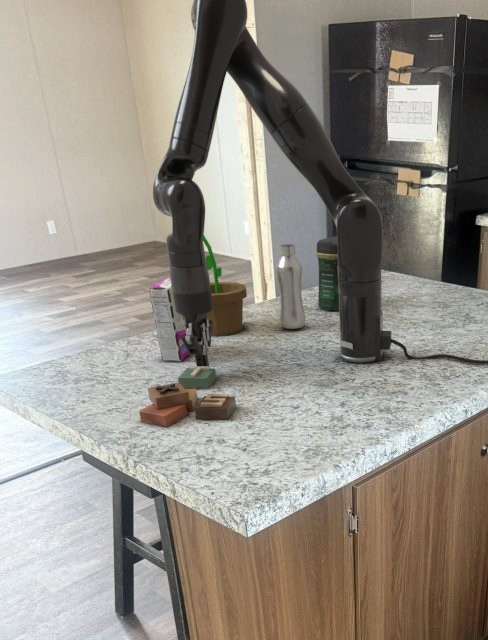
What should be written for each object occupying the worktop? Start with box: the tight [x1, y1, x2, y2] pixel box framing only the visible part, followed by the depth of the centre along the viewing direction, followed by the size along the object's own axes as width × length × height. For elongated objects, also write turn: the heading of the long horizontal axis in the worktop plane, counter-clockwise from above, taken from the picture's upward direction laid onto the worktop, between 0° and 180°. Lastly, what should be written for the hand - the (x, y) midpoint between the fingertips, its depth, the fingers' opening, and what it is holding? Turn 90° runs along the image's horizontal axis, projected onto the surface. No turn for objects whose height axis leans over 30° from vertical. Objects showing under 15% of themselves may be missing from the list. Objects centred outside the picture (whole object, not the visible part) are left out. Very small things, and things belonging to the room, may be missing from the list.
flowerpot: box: [203, 233, 248, 337], centre depth 171 cm, size 14×14×30 cm
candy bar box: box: [148, 276, 191, 363], centre depth 158 cm, size 11×5×16 cm, turn 168°
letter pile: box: [138, 381, 198, 428], centre depth 130 cm, size 8×14×5 cm, turn 174°
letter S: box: [194, 393, 237, 421], centre depth 130 cm, size 6×6×3 cm
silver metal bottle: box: [275, 243, 306, 330], centre depth 173 cm, size 6×7×20 cm
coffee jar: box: [316, 235, 339, 312], centre depth 191 cm, size 10×8×19 cm
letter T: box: [177, 365, 217, 389], centre depth 144 cm, size 6×6×3 cm
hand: (203, 370), depth 148 cm, fingers closed
